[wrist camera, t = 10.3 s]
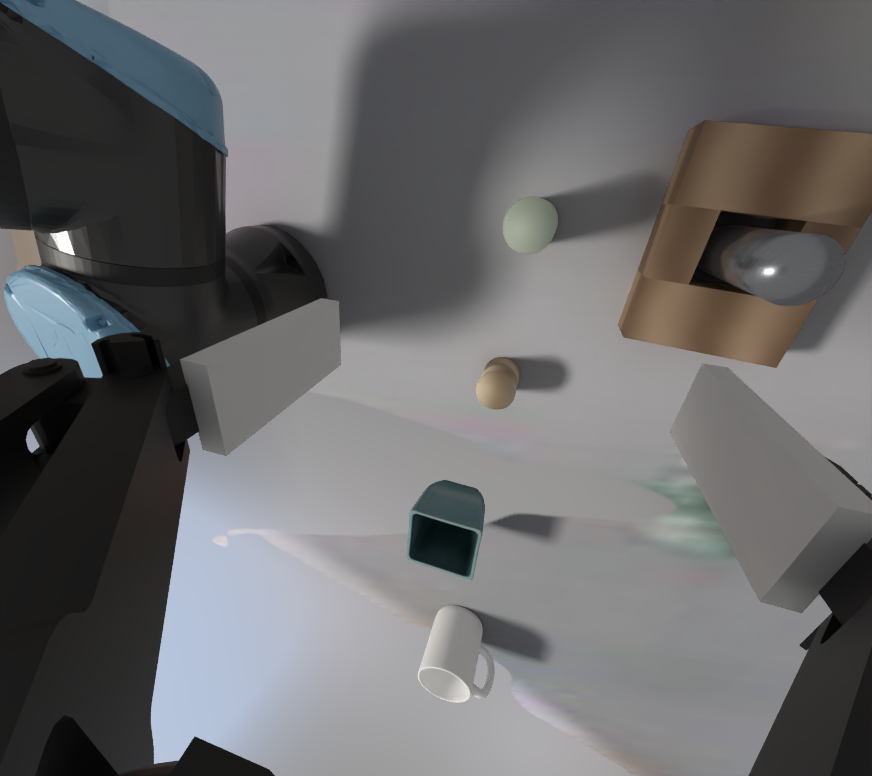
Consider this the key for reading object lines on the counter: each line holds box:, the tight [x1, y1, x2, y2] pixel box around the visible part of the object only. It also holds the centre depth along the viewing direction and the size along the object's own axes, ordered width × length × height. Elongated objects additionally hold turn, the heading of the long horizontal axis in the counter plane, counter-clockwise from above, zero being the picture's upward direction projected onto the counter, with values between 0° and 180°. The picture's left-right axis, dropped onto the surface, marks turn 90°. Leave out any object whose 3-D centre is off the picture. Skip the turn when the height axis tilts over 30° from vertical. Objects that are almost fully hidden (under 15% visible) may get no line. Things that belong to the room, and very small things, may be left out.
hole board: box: [618, 120, 872, 368], centre depth 30 cm, size 12×16×4 cm
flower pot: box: [406, 480, 485, 580], centre depth 49 cm, size 9×9×9 cm
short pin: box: [476, 357, 520, 410], centre depth 40 cm, size 4×4×5 cm
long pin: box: [698, 225, 846, 306], centre depth 27 cm, size 4×4×12 cm
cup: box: [418, 605, 494, 703], centre depth 60 cm, size 8×12×10 cm
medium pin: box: [503, 197, 558, 254], centre depth 32 cm, size 4×4×8 cm
